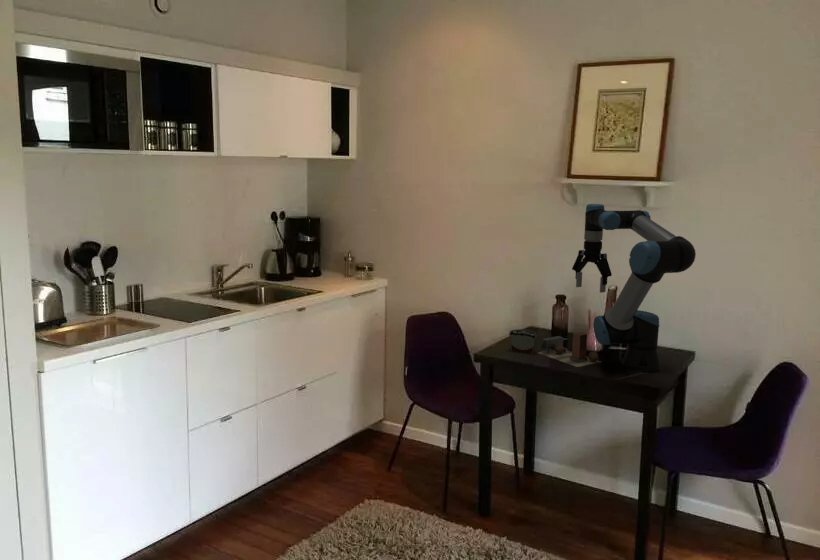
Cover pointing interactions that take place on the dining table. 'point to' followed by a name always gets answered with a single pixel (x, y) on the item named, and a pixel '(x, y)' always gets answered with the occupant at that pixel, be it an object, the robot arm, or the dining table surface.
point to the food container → (522, 341)
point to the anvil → (551, 345)
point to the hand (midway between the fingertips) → (590, 289)
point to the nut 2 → (593, 356)
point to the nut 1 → (559, 348)
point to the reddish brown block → (579, 347)
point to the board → (566, 359)
